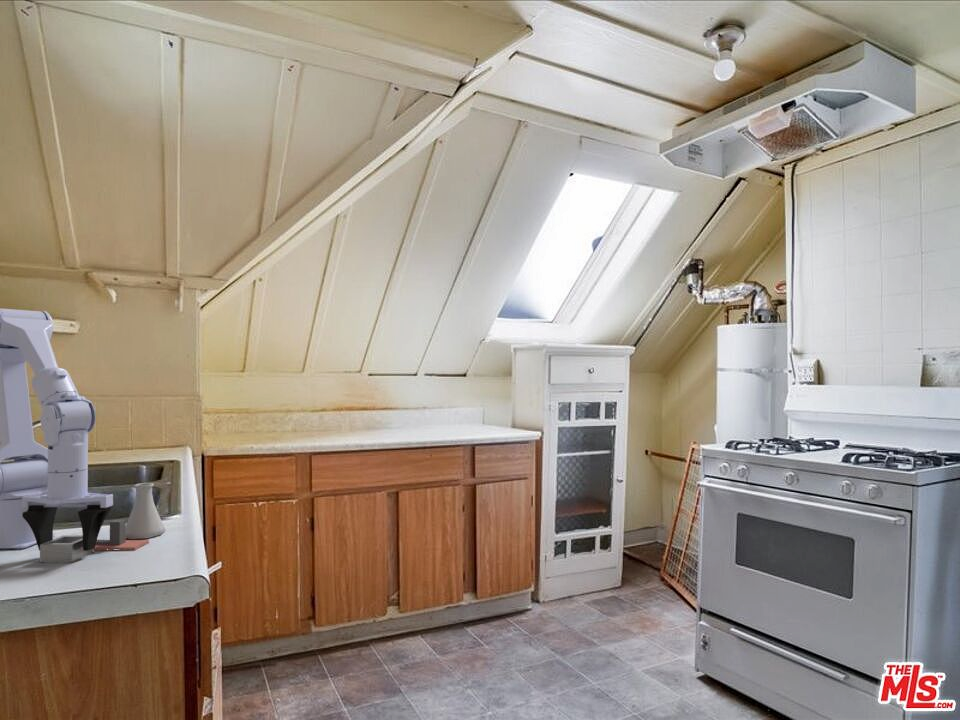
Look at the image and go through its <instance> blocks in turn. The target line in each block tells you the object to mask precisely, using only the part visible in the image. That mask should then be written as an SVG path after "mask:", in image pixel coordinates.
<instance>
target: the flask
mask: <svg viewBox="0 0 960 720" xmlns="http://www.w3.org/2000/svg"><path fill="white" fill-rule="evenodd" d="M154 485H155V483H154V482H153V483H152V482H142V483H137V484H134V485H133V488H134V489H135V498H134V502H133V505H132V506H133V507H132V509H131V512H130V514H129V517H128V520H127V521H126V539H127V540H142V539H143V540H144V539H149V538H153V537H157V536H160V535H162V534H163V533H164V532H166V528H165V525H164V524H163V521H162V519H161V517H160V514H159V512H158V509H157V507H156V504H155V502H154V496H153V487H154Z"/></svg>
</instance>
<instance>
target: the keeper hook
mask: <svg viewBox="0 0 960 720" xmlns="http://www.w3.org/2000/svg"><path fill="white" fill-rule="evenodd" d="M126 524H127V521H126V519H114V520H112V521H109V539H97V541H96V545H95V547H94V548H93V551H115V550H114V549H120V550H119V551H126V550H125V549H129V550H128V551H136V550H138V549H140V548H142V547H144V546H146V545H148V544H149V543H150V540H149V539H143V540H142V539H127V538H126ZM126 539H127V540H126ZM141 546H142V547H141ZM139 547H140V548H139ZM137 548H138V549H137ZM107 549H108V550H107ZM135 549H136V550H135Z"/></svg>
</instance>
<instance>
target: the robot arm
mask: <svg viewBox="0 0 960 720" xmlns="http://www.w3.org/2000/svg"><path fill="white" fill-rule="evenodd" d="M53 331H54V321H53V318H52V316H51V315H50V314H49V312H48V311H46V310H40V311H39V310H38V311H37V310H29V309H28V310H25V309H14V308H13V309H12V308H2V307H1V308H0V549H25V548H28V547H30V546H33V545H36V544H37V548H38V551H39V552H40V544H43V543H45V542H48V541H50V540H53V539H54V537H55V533H54V523H55V522H54V521H55V518H56V515H57V511H58V508H84V509H81V510H79V511H77V515H78V518H79V520H80V525H81V531H82V535H83V550H84V551H87V550H90V549H92V548H94V547H95V545H96V541H97V540H98V536H99V534H100V531H101V528H102V525H103V524H104V521H105V520H106V518H107V516H108V514H109V513H110V512H111V509H112V506H114V494H113V493H111V494H109V493H97V492H95V493H94V492H88V490H89V489H88V488H89V487H88V486H89V485H88V484H89V483H88V481H89V475H88V474H89V473H88V472H89V469H88V468H89V433H90V432H92V430H93V429H94V427H95V424H96V419H97V417H96V416H97V415H96V410H95V406H94V404H93V402H92V401H91V400H89V399H87V398H86V397H85V396H83V395H79V392H78V389H77V387H76V385H75V383H74V382H73V380H72V377H71V375H70V374H69V371H68V370H66V369H65V368H61V367H59V365H58V363H57V360H56V357H55V353H54V350H53V347H52V344H51V342H50V341H51V339H52V335H53ZM26 363H28V365H29V367H30V368H31V370H32V372H33V373H34V375H33V377H32V378H31V381H30V384H31V387H32V389H33V391H34V393H35V395H36V397H37V401H38V403H39V404H40V408H41V409H42V412H41V416H40V420H39V421H40V427H41V429H42V433H43V442H44V445H46V446H47V447H46V446H44V445H43V444H40V443H38V442H37V441H35V437H34V428H33V418H32V410H31V401H30V399H31V398H30V394H29V393H30V392H29V383H28V382H29V381H28V374H27V365H26Z"/></svg>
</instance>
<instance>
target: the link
mask: <svg viewBox="0 0 960 720" xmlns="http://www.w3.org/2000/svg"><path fill="white" fill-rule="evenodd" d="M92 552H93V553H94V550H93V548H92V549H90V550H87V551H84V550H83V534H82V535H78V534H77V535H76V534H73V535H69V534H68V535H61V536H58V537H56V538H53V540H50V541H48V542H45V543H43V544H40V551H39V563H40V562H46V563H74V562H76V561H78V560H80V559H82V558H84V557H86V556H89V555H91V554H92ZM90 553H91V554H90Z"/></svg>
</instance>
